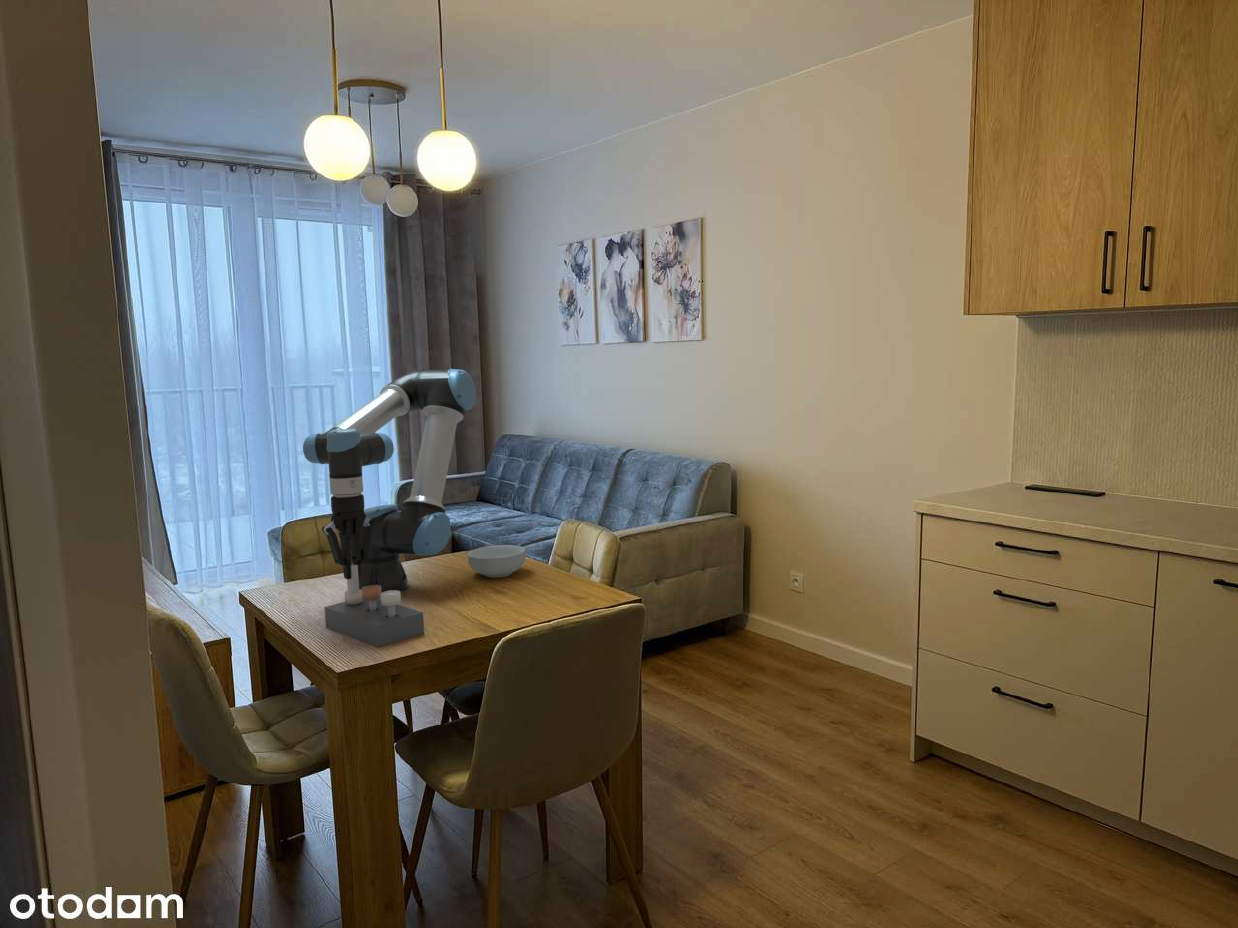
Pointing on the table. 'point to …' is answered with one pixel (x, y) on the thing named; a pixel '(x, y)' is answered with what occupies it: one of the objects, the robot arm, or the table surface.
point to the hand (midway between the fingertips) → (353, 590)
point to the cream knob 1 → (353, 597)
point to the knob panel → (374, 622)
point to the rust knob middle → (371, 595)
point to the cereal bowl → (497, 560)
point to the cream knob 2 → (391, 601)
